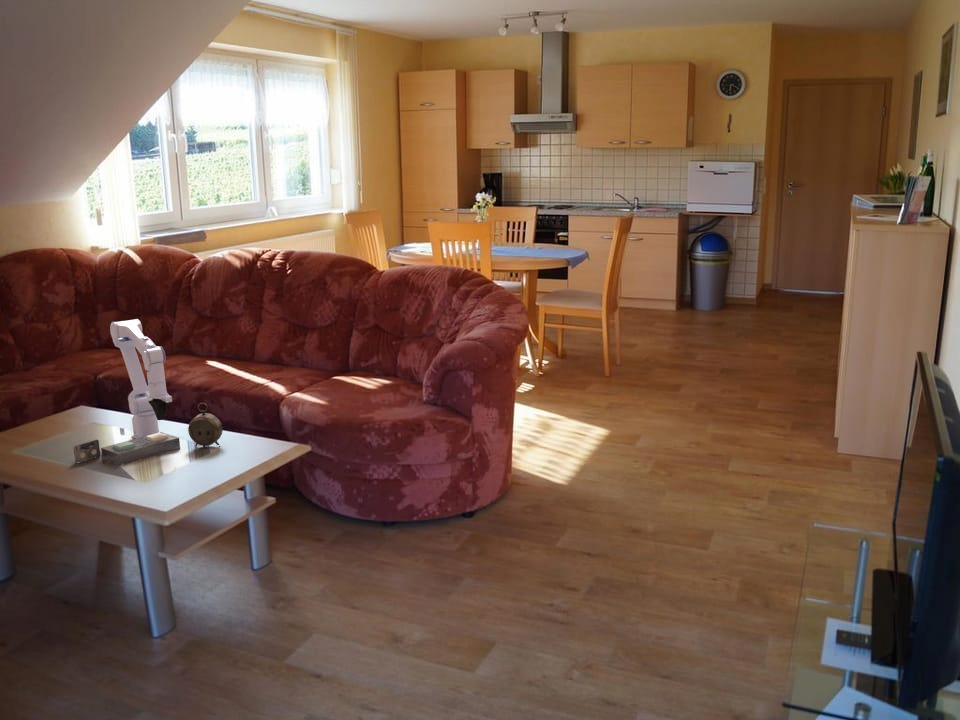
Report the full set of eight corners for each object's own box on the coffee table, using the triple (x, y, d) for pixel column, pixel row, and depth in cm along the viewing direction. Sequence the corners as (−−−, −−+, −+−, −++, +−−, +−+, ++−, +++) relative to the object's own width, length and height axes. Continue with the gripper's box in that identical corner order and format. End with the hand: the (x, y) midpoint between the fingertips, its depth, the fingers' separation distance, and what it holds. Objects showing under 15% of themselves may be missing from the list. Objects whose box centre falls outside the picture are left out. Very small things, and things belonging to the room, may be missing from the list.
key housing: (102, 459, 293) (100, 447, 292) (162, 442, 309) (161, 432, 308) (119, 465, 285) (118, 454, 284) (180, 448, 301) (179, 437, 300)
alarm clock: (224, 445, 303) (220, 400, 300) (218, 450, 298) (214, 404, 295) (194, 445, 304) (190, 400, 301) (188, 450, 299) (183, 404, 296)
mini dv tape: (98, 456, 297) (95, 439, 295) (100, 456, 296) (98, 439, 295) (75, 462, 290) (73, 445, 289) (77, 463, 289) (75, 446, 288)
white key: (147, 447, 301) (146, 436, 300) (160, 443, 305) (159, 432, 304) (154, 449, 298) (153, 438, 297) (168, 445, 301) (166, 434, 300)
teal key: (114, 456, 292) (112, 444, 291) (128, 452, 296) (126, 440, 295) (121, 458, 289) (120, 447, 288) (135, 454, 292) (134, 443, 292)
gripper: (135, 381, 303) (139, 418, 306) (156, 386, 294) (161, 425, 297) (154, 377, 308) (158, 414, 311) (175, 382, 299) (180, 420, 302)
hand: (161, 419), depth 304 cm, fingers closed
